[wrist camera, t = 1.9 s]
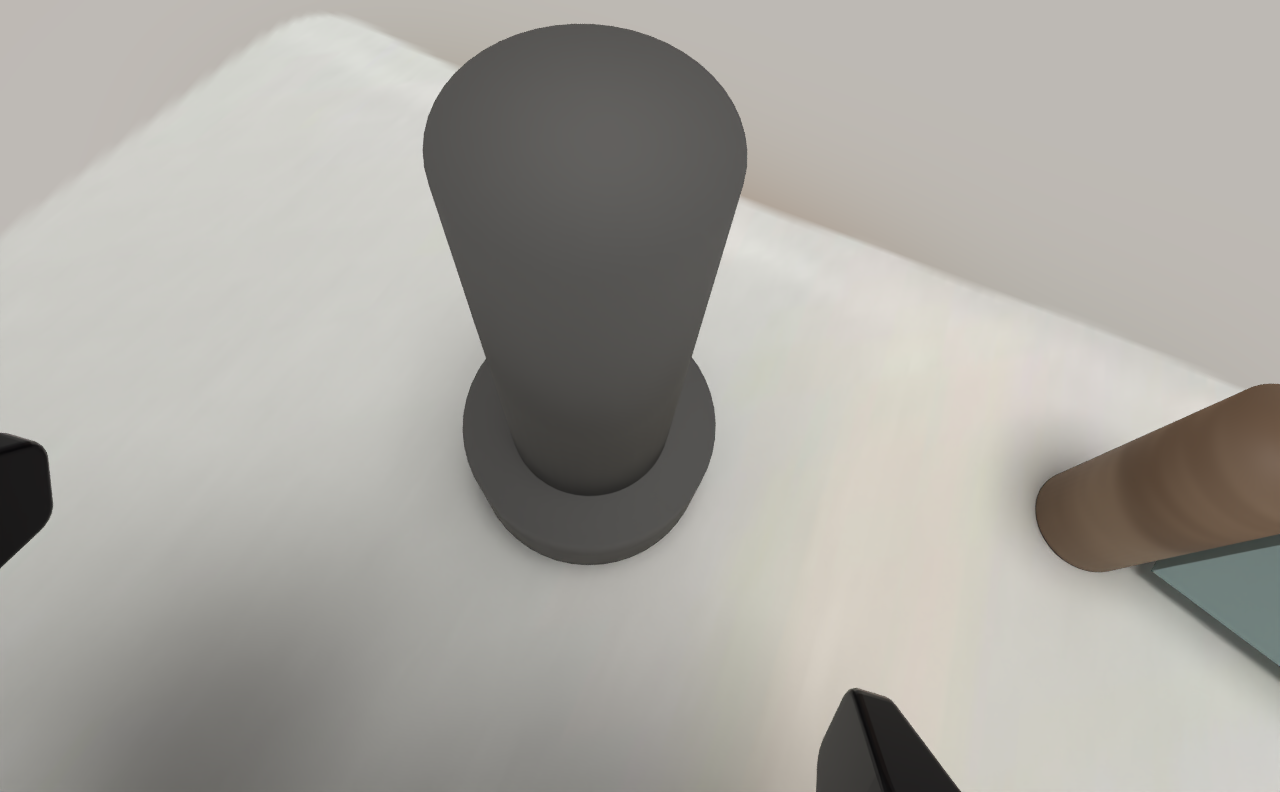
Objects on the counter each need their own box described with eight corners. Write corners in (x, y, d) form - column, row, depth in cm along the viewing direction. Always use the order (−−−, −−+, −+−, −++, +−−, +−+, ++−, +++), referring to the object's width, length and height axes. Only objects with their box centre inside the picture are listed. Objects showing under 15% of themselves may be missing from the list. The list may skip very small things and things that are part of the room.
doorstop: (541, 607, 19) (452, 481, 7) (445, 411, 21) (246, 50, 9) (740, 497, 21) (945, 238, 9) (633, 323, 23) (679, -89, 10)
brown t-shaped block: (1064, 451, 22) (1256, 357, 15) (1153, 515, 21) (1390, 445, 15) (639, 1111, 15) (671, 1409, 9) (748, 1230, 15) (863, 1638, 8)
